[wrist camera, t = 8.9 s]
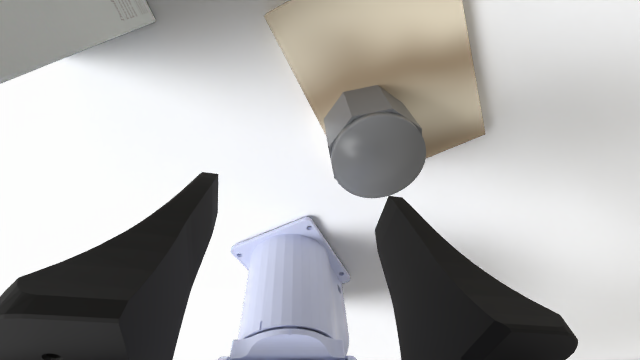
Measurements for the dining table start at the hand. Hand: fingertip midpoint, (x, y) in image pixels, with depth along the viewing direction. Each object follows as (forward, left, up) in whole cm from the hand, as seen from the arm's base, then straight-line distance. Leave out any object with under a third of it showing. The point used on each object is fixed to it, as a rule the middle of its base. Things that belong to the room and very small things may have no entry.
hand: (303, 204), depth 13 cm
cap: (-2, -4, -9) cm, 10 cm away
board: (0, -6, -10) cm, 11 cm away
